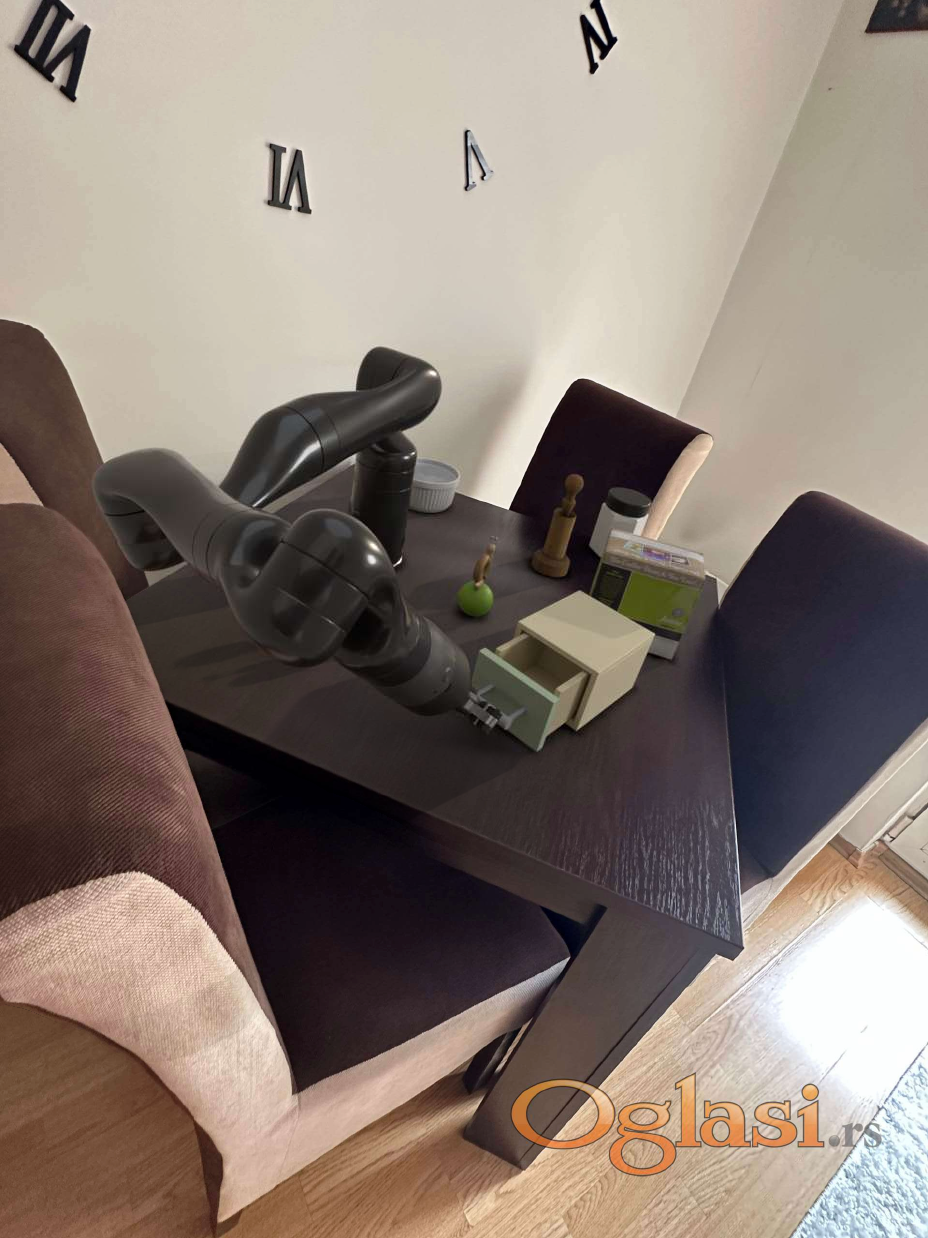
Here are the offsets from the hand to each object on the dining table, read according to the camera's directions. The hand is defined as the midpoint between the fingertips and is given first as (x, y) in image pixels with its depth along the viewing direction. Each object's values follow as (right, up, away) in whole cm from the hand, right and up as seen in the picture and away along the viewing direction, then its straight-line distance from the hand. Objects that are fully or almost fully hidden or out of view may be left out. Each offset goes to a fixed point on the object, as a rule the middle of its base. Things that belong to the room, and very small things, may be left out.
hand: (476, 710), depth 72 cm
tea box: (+25, +8, +33) cm, 42 cm away
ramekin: (-10, +34, +60) cm, 69 cm away
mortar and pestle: (+14, +19, +46) cm, 52 cm away
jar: (+28, +23, +57) cm, 67 cm away
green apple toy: (0, +11, +29) cm, 31 cm away
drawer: (+6, -1, +10) cm, 12 cm away
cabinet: (+13, +1, +18) cm, 23 cm away
